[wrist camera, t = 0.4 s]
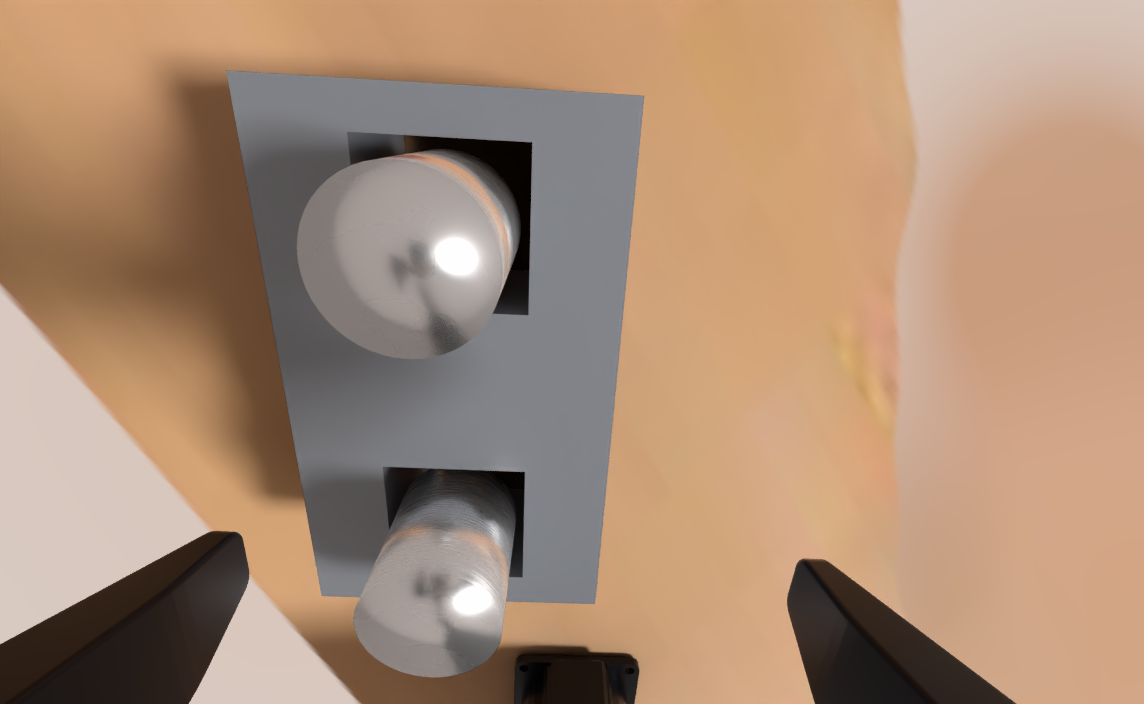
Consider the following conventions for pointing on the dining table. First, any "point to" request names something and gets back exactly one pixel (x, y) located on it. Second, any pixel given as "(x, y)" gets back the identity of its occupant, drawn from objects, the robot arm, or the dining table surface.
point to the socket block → (485, 363)
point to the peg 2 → (441, 576)
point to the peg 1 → (409, 250)
